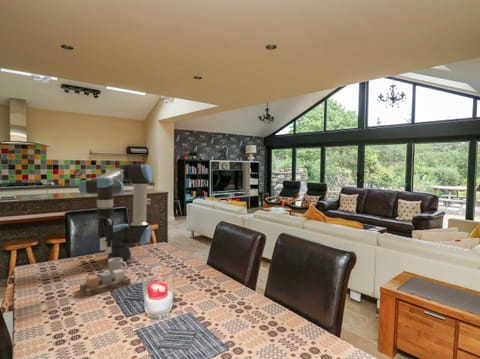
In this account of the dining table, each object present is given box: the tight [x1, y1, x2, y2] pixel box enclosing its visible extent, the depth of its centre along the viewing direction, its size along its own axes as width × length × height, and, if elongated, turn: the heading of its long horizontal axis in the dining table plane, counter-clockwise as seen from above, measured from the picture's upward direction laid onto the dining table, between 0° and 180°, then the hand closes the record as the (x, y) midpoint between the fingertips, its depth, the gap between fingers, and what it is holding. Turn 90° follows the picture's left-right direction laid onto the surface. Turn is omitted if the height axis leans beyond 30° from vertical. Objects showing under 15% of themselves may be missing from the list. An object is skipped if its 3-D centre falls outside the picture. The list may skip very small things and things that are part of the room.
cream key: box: [112, 269, 125, 281], centre depth 153 cm, size 4×4×4 cm
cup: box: [107, 257, 127, 274], centre depth 169 cm, size 11×8×8 cm
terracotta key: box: [85, 274, 100, 288], centre depth 144 cm, size 4×4×4 cm
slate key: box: [99, 271, 112, 285], centre depth 149 cm, size 4×4×4 cm
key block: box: [79, 274, 132, 298], centre depth 149 cm, size 21×11×3 cm, turn 136°
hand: (105, 251), depth 148 cm, fingers open, 6 cm apart
